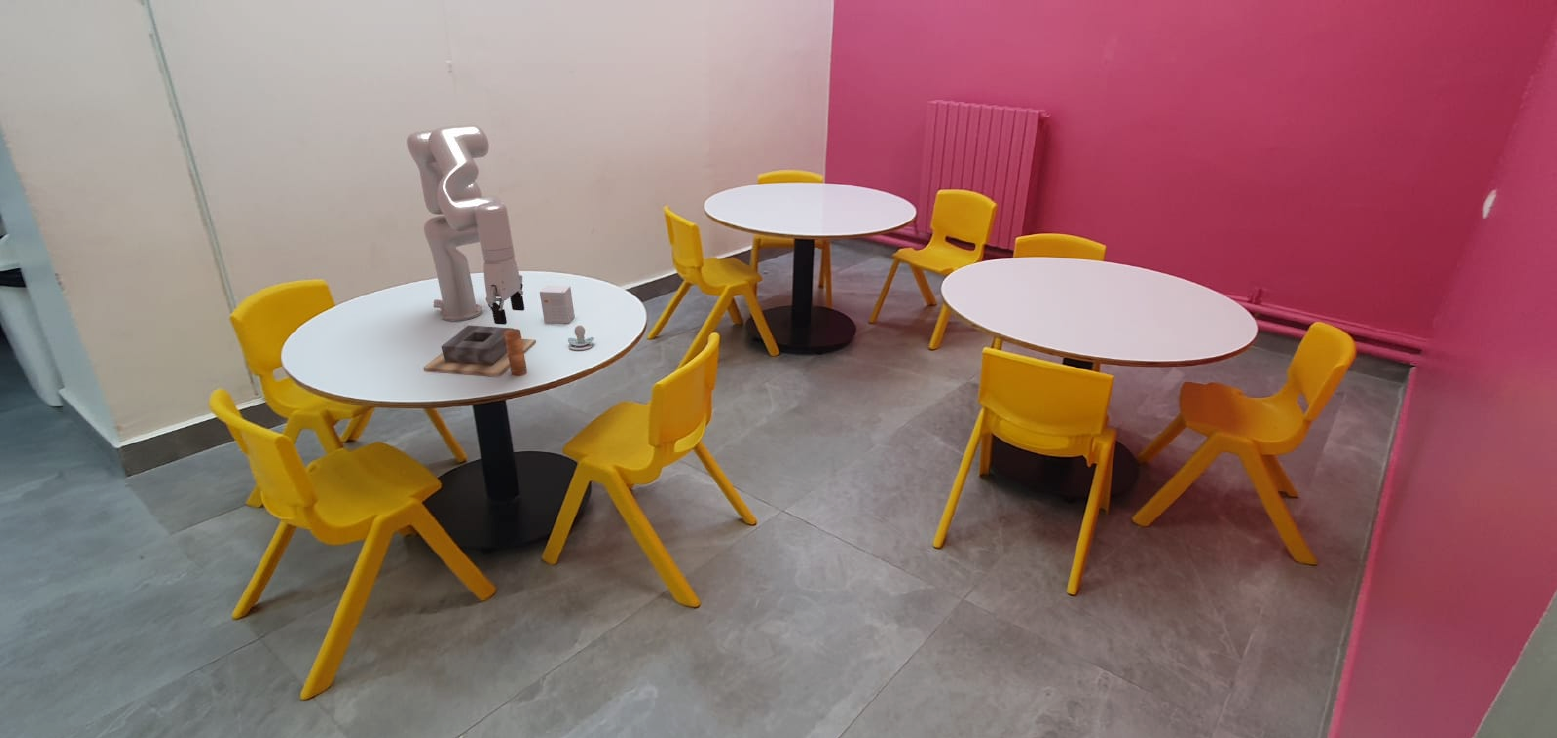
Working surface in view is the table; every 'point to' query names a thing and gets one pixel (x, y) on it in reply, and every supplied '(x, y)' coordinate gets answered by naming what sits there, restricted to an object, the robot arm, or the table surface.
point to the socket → (476, 352)
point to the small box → (557, 304)
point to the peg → (515, 352)
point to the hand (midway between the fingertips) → (509, 316)
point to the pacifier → (580, 340)
